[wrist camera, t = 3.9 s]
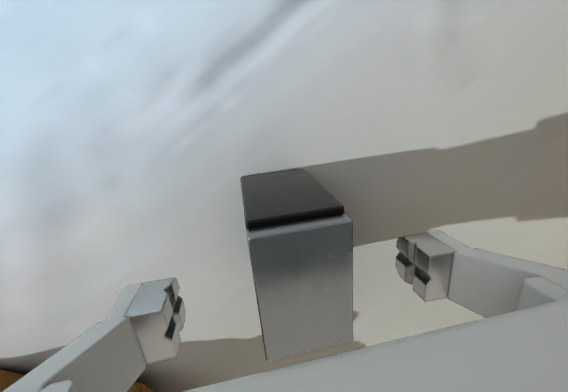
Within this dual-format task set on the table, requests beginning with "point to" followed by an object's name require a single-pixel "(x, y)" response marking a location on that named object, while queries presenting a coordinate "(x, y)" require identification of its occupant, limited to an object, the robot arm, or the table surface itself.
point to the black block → (299, 262)
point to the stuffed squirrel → (5, 378)
